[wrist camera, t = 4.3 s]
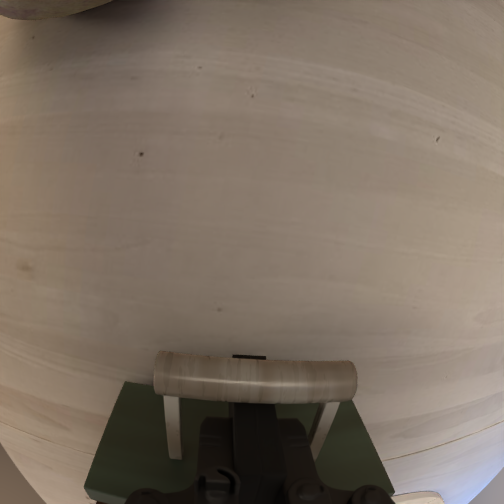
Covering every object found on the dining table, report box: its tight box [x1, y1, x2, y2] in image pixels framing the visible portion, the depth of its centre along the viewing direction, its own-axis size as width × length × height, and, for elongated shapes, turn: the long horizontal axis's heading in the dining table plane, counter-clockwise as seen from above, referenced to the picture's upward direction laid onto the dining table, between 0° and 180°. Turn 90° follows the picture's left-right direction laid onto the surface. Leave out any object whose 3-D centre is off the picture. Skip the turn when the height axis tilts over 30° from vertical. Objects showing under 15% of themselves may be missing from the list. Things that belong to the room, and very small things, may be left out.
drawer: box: [84, 351, 395, 504], centre depth 14 cm, size 20×13×8 cm, turn 174°
